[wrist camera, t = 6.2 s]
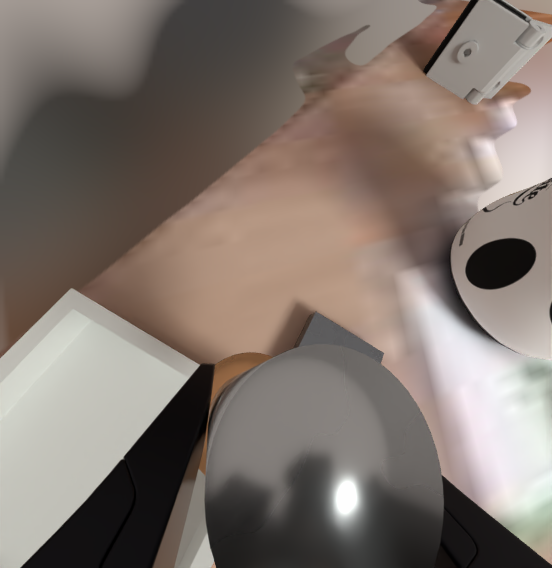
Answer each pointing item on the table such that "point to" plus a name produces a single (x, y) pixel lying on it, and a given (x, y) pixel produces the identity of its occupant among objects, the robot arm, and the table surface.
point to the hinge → (486, 49)
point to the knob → (318, 464)
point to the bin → (81, 421)
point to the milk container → (509, 270)
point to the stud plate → (334, 337)
